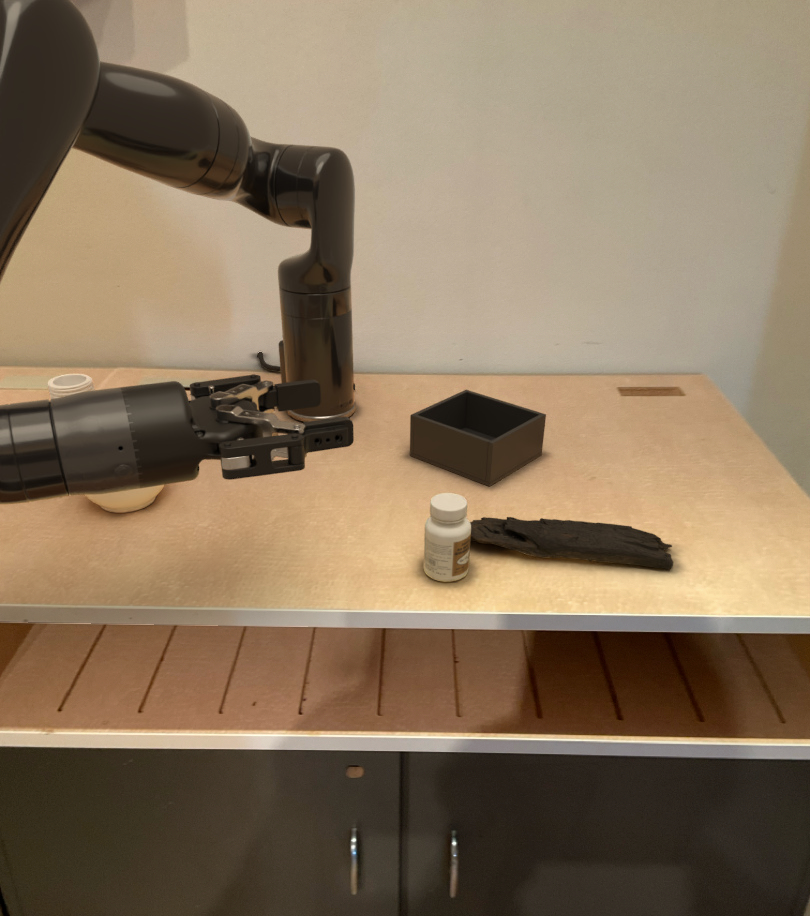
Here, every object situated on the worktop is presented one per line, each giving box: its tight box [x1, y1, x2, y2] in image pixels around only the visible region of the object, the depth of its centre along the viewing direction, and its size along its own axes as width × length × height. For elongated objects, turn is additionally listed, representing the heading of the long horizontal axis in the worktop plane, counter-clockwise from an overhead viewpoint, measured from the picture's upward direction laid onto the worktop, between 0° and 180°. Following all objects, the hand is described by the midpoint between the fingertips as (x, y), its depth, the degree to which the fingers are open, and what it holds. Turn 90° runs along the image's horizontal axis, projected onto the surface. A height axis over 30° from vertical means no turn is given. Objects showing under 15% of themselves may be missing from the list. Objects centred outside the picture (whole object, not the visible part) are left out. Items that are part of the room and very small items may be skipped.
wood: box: [470, 516, 675, 570], centre depth 80 cm, size 22×7×3 cm, turn 82°
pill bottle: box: [423, 492, 471, 583], centre depth 75 cm, size 4×4×8 cm
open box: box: [409, 389, 547, 487], centre depth 97 cm, size 12×11×6 cm
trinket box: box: [84, 485, 165, 514], centre depth 86 cm, size 11×11×9 cm
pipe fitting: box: [46, 373, 95, 400], centre depth 99 cm, size 6×7×8 cm
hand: (334, 410), depth 64 cm, fingers open, 8 cm apart
